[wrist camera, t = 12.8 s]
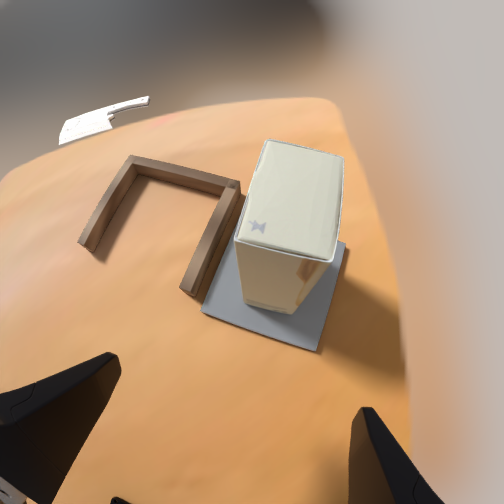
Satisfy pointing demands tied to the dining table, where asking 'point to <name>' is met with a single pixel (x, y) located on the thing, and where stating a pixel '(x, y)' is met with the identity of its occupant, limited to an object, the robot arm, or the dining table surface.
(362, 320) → the dining table surface
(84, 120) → the white meat cleaver
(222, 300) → the slate coaster
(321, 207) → the skincare box
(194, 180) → the walnut cubby
